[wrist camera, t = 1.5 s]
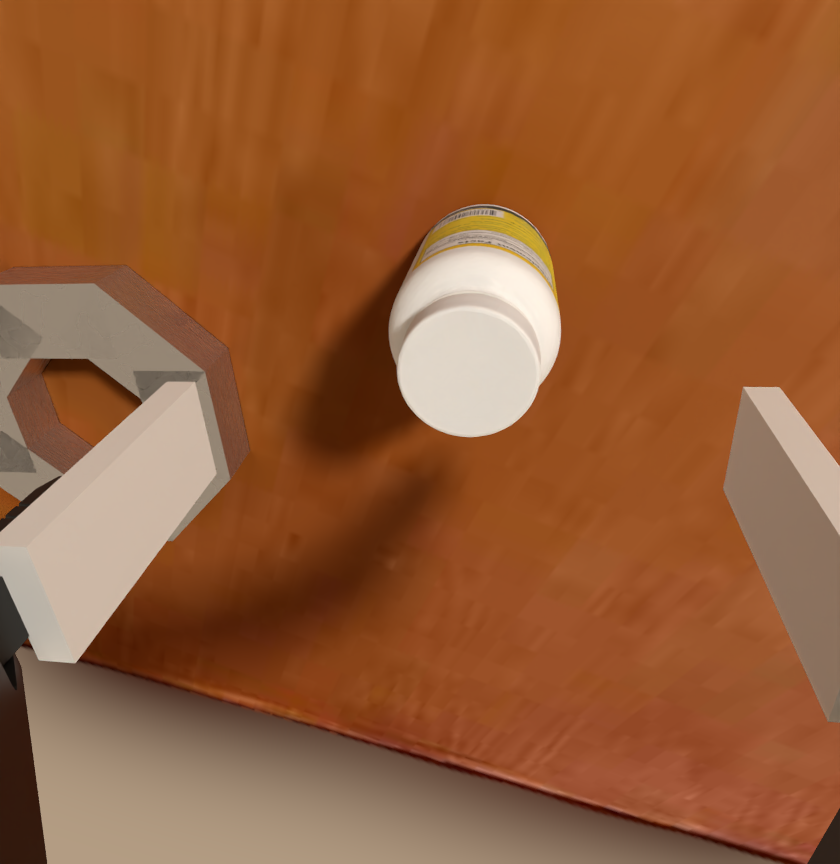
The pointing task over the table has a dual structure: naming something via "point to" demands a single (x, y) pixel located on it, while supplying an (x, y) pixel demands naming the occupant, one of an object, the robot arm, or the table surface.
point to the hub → (102, 366)
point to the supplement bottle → (476, 322)
